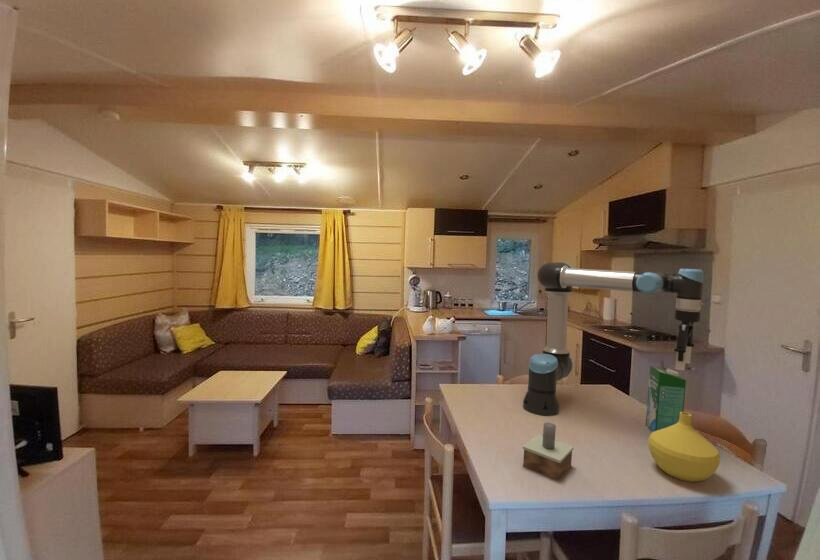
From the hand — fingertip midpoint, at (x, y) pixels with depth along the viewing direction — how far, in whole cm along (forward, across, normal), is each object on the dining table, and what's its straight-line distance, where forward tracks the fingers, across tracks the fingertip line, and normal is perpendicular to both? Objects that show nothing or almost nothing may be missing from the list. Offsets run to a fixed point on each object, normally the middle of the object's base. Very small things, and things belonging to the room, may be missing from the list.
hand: (682, 366), depth 143 cm
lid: (+23, -58, +26) cm, 67 cm away
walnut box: (+28, -58, +26) cm, 69 cm away
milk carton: (+28, +1, +5) cm, 28 cm away
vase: (+28, -29, -5) cm, 40 cm away
